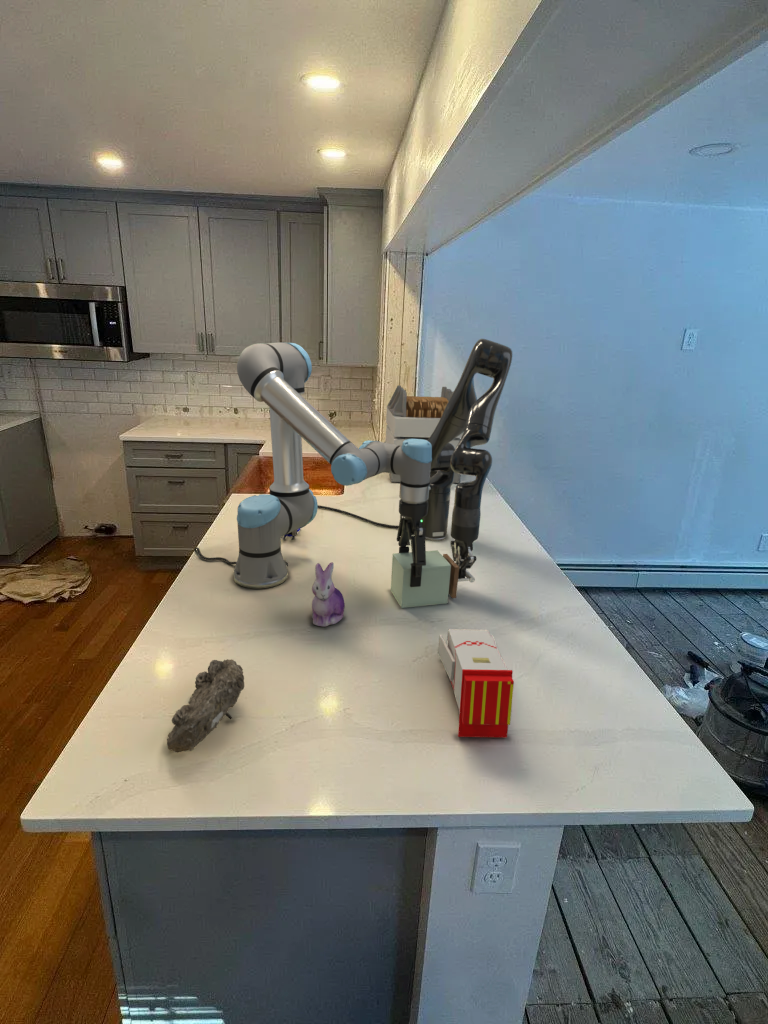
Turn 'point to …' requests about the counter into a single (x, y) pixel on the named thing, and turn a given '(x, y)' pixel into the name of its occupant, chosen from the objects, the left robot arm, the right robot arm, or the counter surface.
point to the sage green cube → (431, 580)
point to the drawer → (456, 576)
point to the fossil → (206, 705)
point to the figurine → (326, 598)
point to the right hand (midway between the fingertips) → (460, 579)
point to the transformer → (415, 419)
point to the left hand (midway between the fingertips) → (408, 577)
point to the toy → (478, 682)
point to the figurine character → (291, 534)
